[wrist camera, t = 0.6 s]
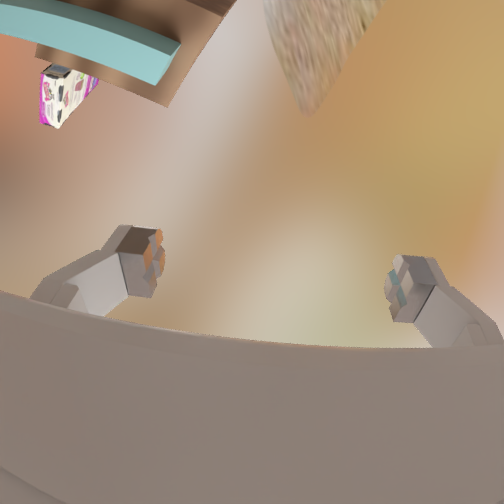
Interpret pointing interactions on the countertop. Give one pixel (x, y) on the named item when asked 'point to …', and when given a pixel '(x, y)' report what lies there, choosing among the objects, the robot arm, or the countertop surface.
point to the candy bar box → (62, 93)
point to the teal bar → (90, 36)
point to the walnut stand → (159, 21)
